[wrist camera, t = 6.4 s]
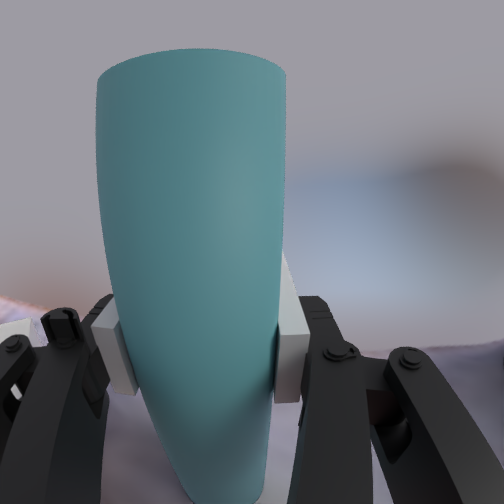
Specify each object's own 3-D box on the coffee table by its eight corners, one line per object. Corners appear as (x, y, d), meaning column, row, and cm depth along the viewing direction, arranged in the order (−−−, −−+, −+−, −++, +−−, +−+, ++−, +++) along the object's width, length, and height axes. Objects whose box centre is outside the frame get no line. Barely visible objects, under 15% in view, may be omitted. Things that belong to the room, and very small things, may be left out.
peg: (280, 488, 12) (326, 76, 5) (210, 525, 9) (115, 40, 3) (234, 440, 15) (223, 100, 9) (170, 469, 12) (90, 100, 6)
